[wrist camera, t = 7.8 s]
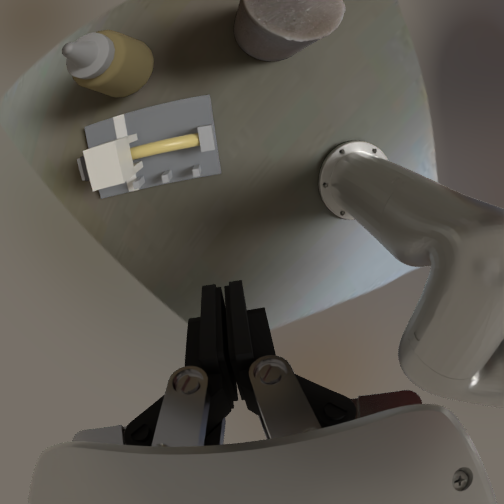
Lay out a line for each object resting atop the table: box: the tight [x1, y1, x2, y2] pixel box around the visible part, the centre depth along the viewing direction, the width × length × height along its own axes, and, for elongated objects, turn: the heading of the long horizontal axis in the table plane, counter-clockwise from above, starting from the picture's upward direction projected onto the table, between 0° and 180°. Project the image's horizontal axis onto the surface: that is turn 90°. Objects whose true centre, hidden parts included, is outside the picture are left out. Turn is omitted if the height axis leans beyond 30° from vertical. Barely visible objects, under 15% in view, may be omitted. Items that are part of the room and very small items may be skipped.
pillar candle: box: [234, 0, 346, 61], centre depth 22 cm, size 10×10×15 cm
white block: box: [83, 133, 143, 191], centre depth 29 cm, size 4×5×8 cm
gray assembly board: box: [77, 95, 221, 199], centre depth 32 cm, size 18×11×6 cm, turn 96°
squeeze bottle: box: [62, 30, 154, 98], centre depth 21 cm, size 8×8×18 cm
